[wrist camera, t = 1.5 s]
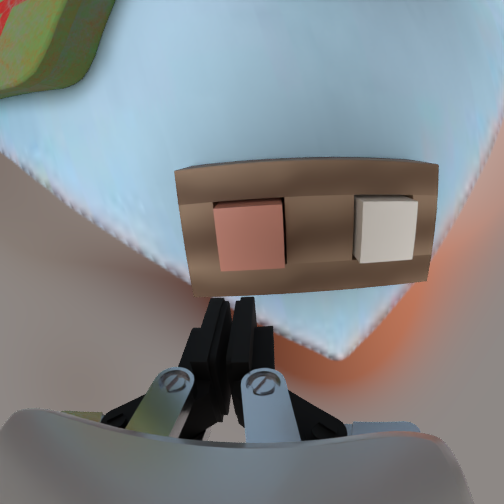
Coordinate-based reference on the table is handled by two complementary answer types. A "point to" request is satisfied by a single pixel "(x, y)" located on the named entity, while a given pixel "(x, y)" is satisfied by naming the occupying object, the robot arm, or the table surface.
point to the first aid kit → (48, 42)
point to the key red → (250, 234)
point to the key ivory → (384, 228)
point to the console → (304, 221)
